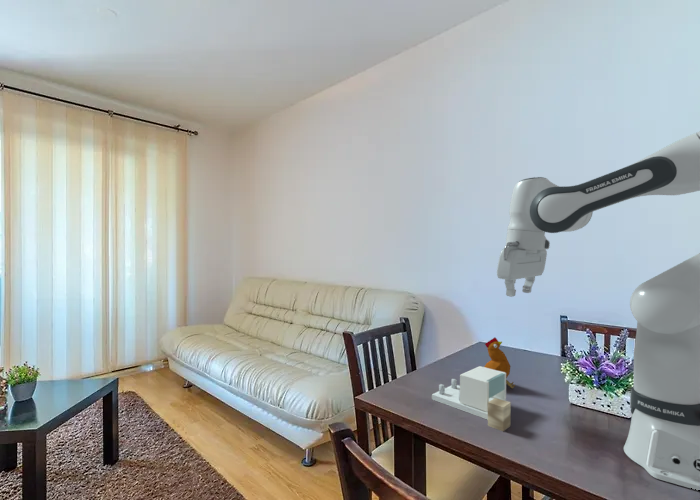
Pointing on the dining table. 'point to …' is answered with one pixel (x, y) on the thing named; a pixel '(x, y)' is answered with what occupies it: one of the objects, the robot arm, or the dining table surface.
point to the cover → (482, 387)
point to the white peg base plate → (457, 399)
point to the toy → (498, 359)
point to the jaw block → (499, 414)
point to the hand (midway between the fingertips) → (518, 294)
